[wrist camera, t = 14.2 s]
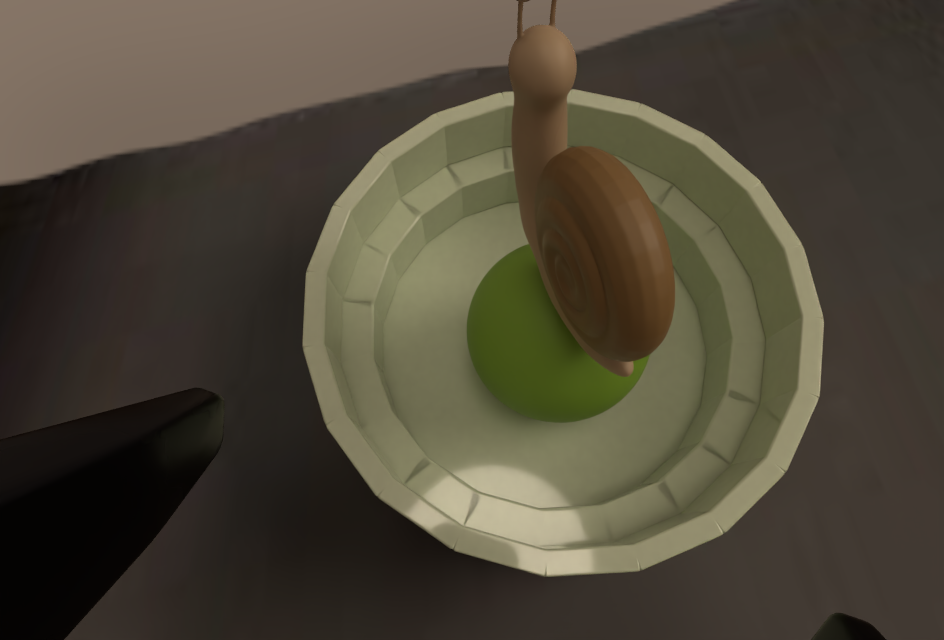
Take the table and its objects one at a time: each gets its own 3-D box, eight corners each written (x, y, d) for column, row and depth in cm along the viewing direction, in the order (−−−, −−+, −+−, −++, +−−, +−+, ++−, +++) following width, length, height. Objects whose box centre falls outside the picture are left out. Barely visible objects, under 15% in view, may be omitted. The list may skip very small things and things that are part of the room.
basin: (338, 574, 18) (289, 592, 13) (347, 188, 23) (313, 100, 18) (783, 547, 18) (892, 556, 13) (698, 170, 23) (756, 78, 18)
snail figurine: (569, 239, 21) (680, -95, 10) (655, 397, 19) (921, 209, 8) (433, 292, 20) (380, 0, 9) (506, 462, 18) (557, 361, 7)
